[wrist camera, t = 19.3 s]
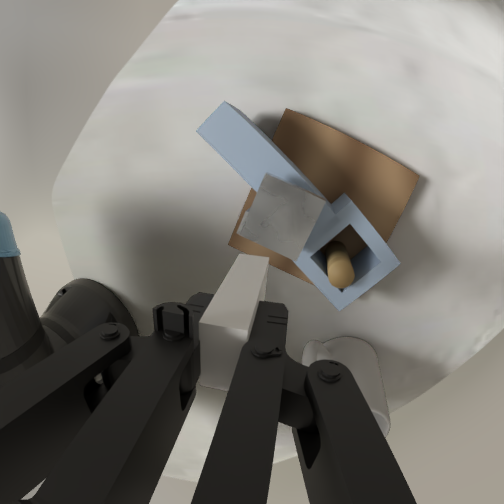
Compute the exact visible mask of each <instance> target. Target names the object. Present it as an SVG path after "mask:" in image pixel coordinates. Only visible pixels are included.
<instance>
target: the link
mask: <svg viewBox="0 0 504 504" xmlns="http://www.w3.org/2000/svg"><path fill="white" fill-rule="evenodd" d="M196 132H197V133H198V134H199V135H200V136H201V137H202V138H203V139H204V140H205V141H206V142H207V143H208V144H209V145H210V146H211V147H212V148H213V149H214V150H215V151H216V152H217V153H218V154H219V155H220V156H221V157H222V158H223V159H224V160H225V161H226V162H227V163H228V164H229V165H230V166H231V167H232V168H233V169H234V170H235V171H236V172H237V173H238V174H239V175H240V176H241V177H242V178H243V179H244V180H245V181H246V182H247V183H248V184H249V185H250V186H251V187H252V188H253V189H254V190H255V191H256V192H258V189H259V187H260V185H261V182H262V180H263V178H264V175H265V173H267V172H269V173H271V174H273V175H275V176H278V177H280V178H282V179H284V180H287V181H289V182H291V183H293V184H295V185H297V186H300V187H302V188H304V189H306V190H308V191H310V192H312V193H314V194H317V195H319V196H321V197H323V198H325V197H324V196H323V194H322V193H321V192H320V191H319V190H318V189H317V188H316V187H315V186H314V184H313V183H312V182H311V181H310V180H309V179H308V178H307V177H306V176H305V175H304V174H303V173H302V171H301V170H300V169H299V168H298V167H297V166H296V165H295V164H294V163H293V162H292V161H291V160H290V159H289V158H288V157H287V156H286V155H285V154H284V153H283V152H282V151H281V150H280V149H279V148H278V147H277V146H276V145H275V144H274V143H273V142H272V141H271V140H270V139H269V138H268V137H267V136H266V135H265V134H264V133H263V132H262V131H261V130H260V129H259V128H258V127H257V126H256V125H255V124H254V123H253V122H252V121H251V120H250V119H249V118H248V117H247V116H246V115H245V114H244V113H243V112H241V111H240V110H239V109H237V108H236V107H234V106H232V105H231V104H229V103H227V102H226V101H224V102H223V103H222V104H221V105H220V106H219V107H218V108H217V109H216V110H215V111H214V112H213V113H212V114H211V115H210V116H209V117H208V118H207V119H206V120H205V122H204V123H203V124H202V125H201V126H200V127H199V128H198V129H197V130H196ZM325 199H326V198H325ZM349 224H351V225H352V227H353V228H354V229H355V230H356V231H357V233H358V234H359V235H360V236H361V238H362V239H363V240H364V241H365V242H366V244H367V245H368V246H366V247H365V248H364V249H363V250H362V251H360V252H359V253H358V254H357V255H356V256H354V257H353V258H352V259H351V260H350V261H351V264H352V267H353V270H354V274H355V277H354V280H353V282H352V284H351V285H349V286H348V287H346V288H336V287H334V286H333V285H331V283H330V282H329V279H328V270H327V261H326V256H325V255H324V254H323V253H322V252H321V251H320V250H319V249H320V248H322V247H323V246H324V245H325V244H326V243H328V242H329V241H330V240H331V239H332V238H333V237H335V236H336V235H337V234H338V233H339V232H341V231H342V230H343V229H344V228H345V227H346V226H348V225H349ZM292 261H293V262H294V263H295V264H296V265H297V266H298V267H299V268H300V269H301V270H302V272H303V273H304V274H305V275H306V276H307V277H308V278H309V279H310V280H311V281H312V282H313V283H314V285H315V286H316V287H317V288H318V289H319V290H320V291H321V292H322V293H323V294H324V295H325V297H326V298H327V299H328V300H329V301H330V302H331V303H332V304H333V305H334V306H335V308H336V309H337V310H338V311H341V310H342V309H343V308H345V307H346V306H347V305H349V304H350V303H351V302H353V301H354V300H355V299H357V298H358V297H359V296H361V295H362V294H363V293H365V292H366V291H367V290H369V289H370V288H371V287H372V286H374V285H375V284H376V283H378V282H379V281H380V280H381V279H383V278H384V277H385V276H386V275H388V274H389V273H390V272H391V271H392V270H394V269H395V268H396V267H397V266H399V265H400V264H401V263H400V262H399V260H398V259H397V258H396V256H395V255H394V253H393V252H392V251H391V249H390V248H389V247H388V245H387V244H386V243H385V242H384V240H383V239H382V238H381V236H380V235H379V234H378V233H377V231H376V230H375V229H374V227H373V226H372V225H371V224H370V222H369V221H368V220H367V219H366V217H365V216H364V215H363V214H362V213H361V211H360V210H359V209H358V208H357V207H356V205H355V204H354V203H353V202H352V201H351V199H350V198H349V197H348V196H347V195H346V194H345V193H343V194H342V195H341V196H340V197H339V198H338V199H337V200H335V201H334V202H333V203H332V204H331V203H330V202H329V201H328V200H327V199H326V203H325V205H324V207H323V209H322V211H321V213H320V215H319V217H318V219H317V221H316V223H315V225H314V227H313V229H312V231H311V233H310V235H309V237H308V239H307V241H306V243H305V245H304V247H303V249H302V251H301V253H300V255H299V257H298V259H297V261H294V260H292Z"/></svg>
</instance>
